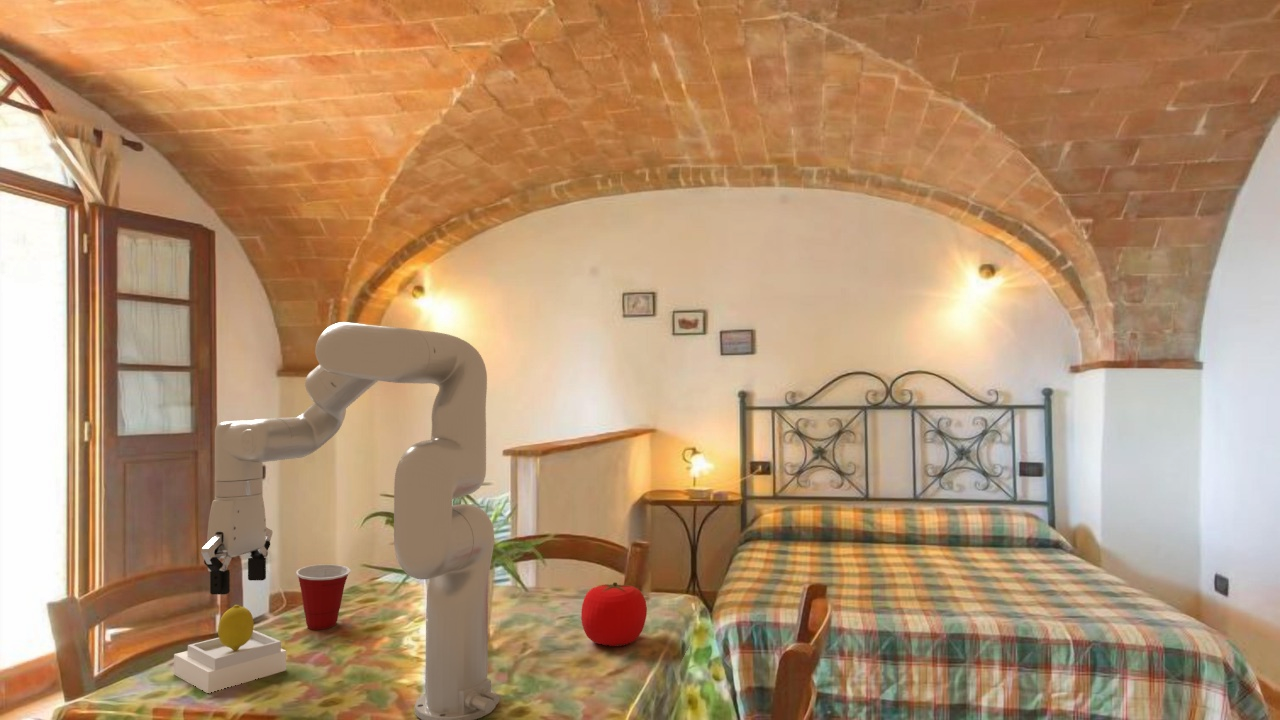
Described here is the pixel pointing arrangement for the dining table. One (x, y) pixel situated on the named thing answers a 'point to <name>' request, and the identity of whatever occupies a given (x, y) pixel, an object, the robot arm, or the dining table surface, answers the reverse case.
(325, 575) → the plastic cup
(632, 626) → the tomato
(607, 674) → the dining table surface
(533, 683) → the dining table surface
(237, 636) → the lemon
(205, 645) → the scale
